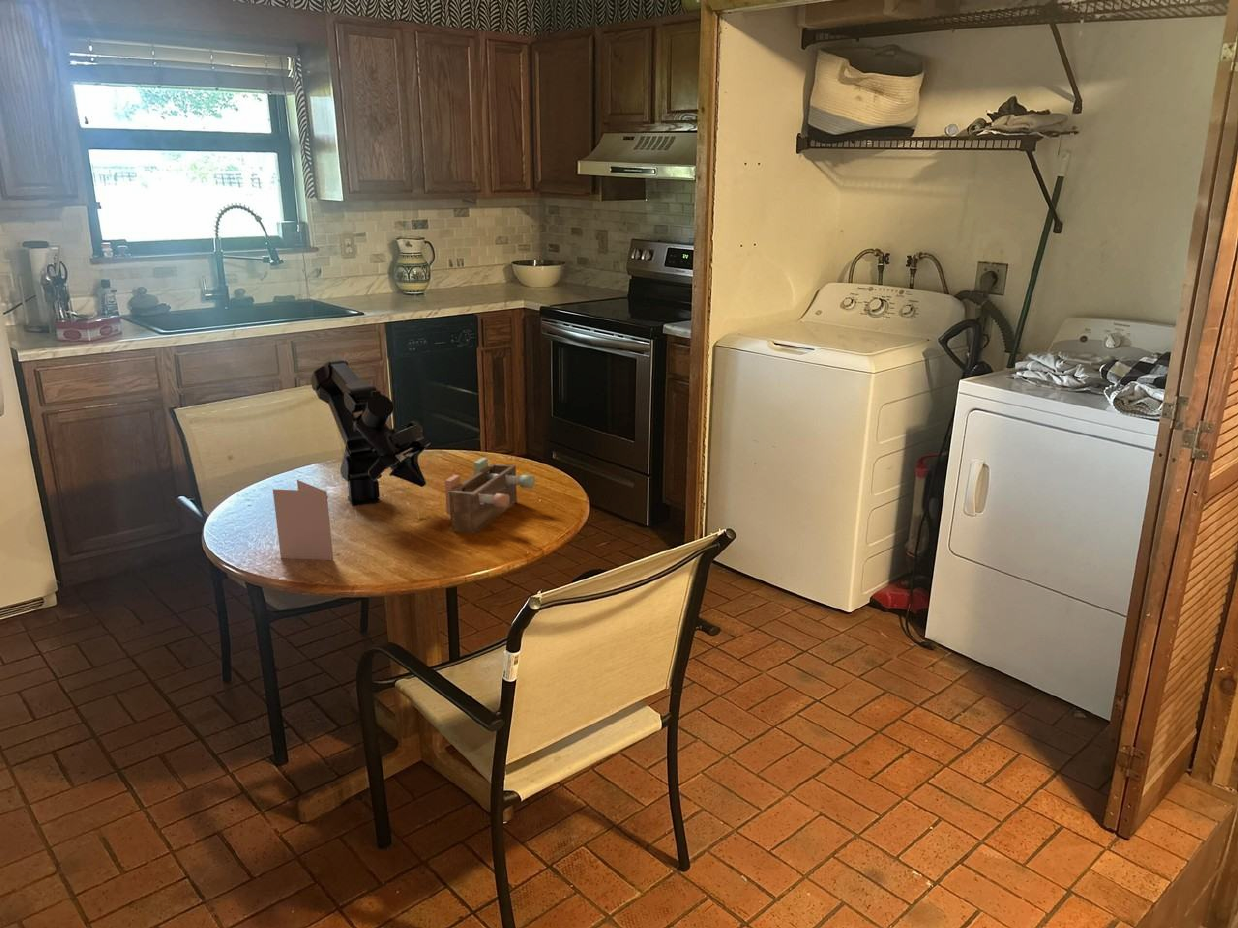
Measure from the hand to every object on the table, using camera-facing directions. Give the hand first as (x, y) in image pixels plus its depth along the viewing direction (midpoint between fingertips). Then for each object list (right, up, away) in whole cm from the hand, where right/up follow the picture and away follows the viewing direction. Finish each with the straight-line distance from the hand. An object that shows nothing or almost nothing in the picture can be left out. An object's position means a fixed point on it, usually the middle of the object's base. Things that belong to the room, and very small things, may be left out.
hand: (424, 485), depth 210 cm
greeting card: (-21, -15, -19) cm, 32 cm away
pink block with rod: (+13, -6, -4) cm, 15 cm away
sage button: (+18, -2, +9) cm, 20 cm away
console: (+13, -7, +4) cm, 16 cm away
